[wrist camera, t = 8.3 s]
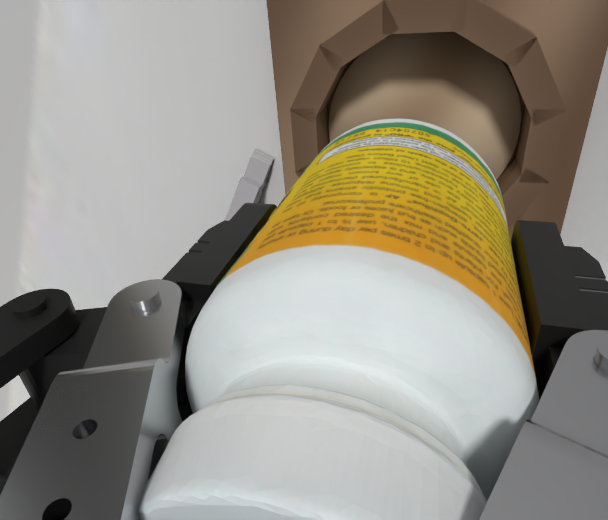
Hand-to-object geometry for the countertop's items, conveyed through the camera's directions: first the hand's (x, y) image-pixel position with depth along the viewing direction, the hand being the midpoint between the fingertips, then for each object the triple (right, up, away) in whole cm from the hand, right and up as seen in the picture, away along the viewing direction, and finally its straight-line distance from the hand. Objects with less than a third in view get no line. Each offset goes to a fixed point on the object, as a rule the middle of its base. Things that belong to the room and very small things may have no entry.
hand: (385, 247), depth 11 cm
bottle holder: (+3, +6, +9) cm, 11 cm away
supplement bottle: (+1, +1, +2) cm, 2 cm away
